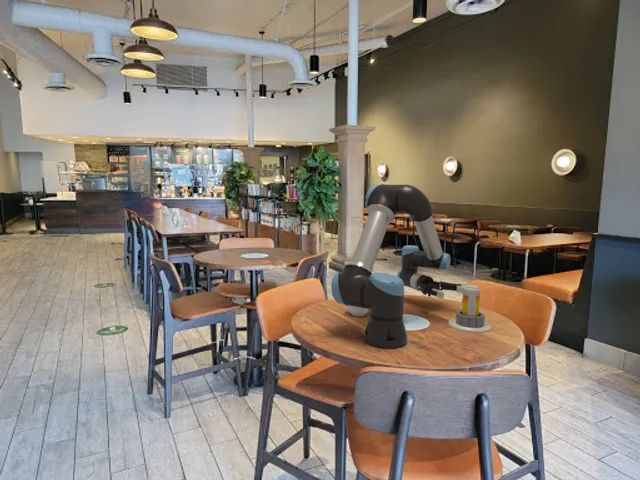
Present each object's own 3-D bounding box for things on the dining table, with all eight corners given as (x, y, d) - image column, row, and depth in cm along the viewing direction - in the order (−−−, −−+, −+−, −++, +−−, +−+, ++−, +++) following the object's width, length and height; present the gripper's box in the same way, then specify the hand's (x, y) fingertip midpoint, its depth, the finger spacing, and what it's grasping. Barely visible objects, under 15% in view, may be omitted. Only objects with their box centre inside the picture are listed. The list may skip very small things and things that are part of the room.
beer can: (475, 321, 169) (477, 284, 167) (479, 326, 163) (482, 288, 161) (459, 320, 170) (462, 284, 168) (463, 325, 164) (465, 287, 162)
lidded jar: (372, 318, 175) (372, 296, 174) (346, 317, 175) (346, 295, 174) (369, 310, 185) (370, 289, 184) (345, 310, 186) (345, 289, 184)
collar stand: (483, 335, 155) (484, 322, 155) (442, 326, 165) (442, 314, 165) (497, 324, 168) (497, 313, 167) (457, 316, 178) (458, 305, 177)
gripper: (443, 288, 197) (478, 299, 178) (399, 293, 187) (431, 306, 168) (444, 272, 196) (479, 282, 177) (400, 277, 186) (432, 287, 167)
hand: (456, 293), depth 172 cm, fingers open, 13 cm apart
